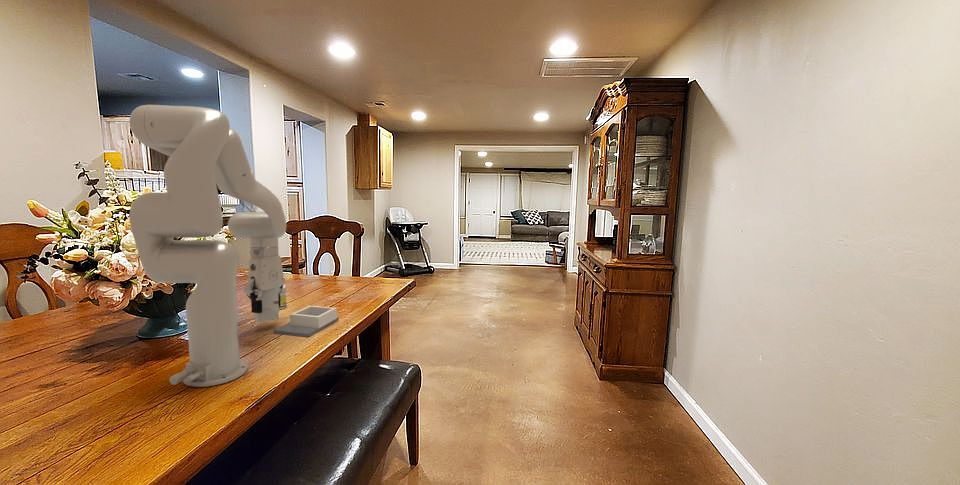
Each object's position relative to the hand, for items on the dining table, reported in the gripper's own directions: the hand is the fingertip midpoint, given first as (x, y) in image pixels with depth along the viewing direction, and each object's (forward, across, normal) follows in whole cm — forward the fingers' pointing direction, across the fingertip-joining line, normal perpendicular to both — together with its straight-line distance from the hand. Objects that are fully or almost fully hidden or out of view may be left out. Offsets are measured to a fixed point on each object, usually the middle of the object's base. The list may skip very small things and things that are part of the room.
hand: (266, 308), depth 121 cm
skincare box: (+4, 0, 0) cm, 4 cm away
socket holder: (+6, +5, -11) cm, 13 cm away
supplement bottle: (+6, +19, +11) cm, 23 cm away
